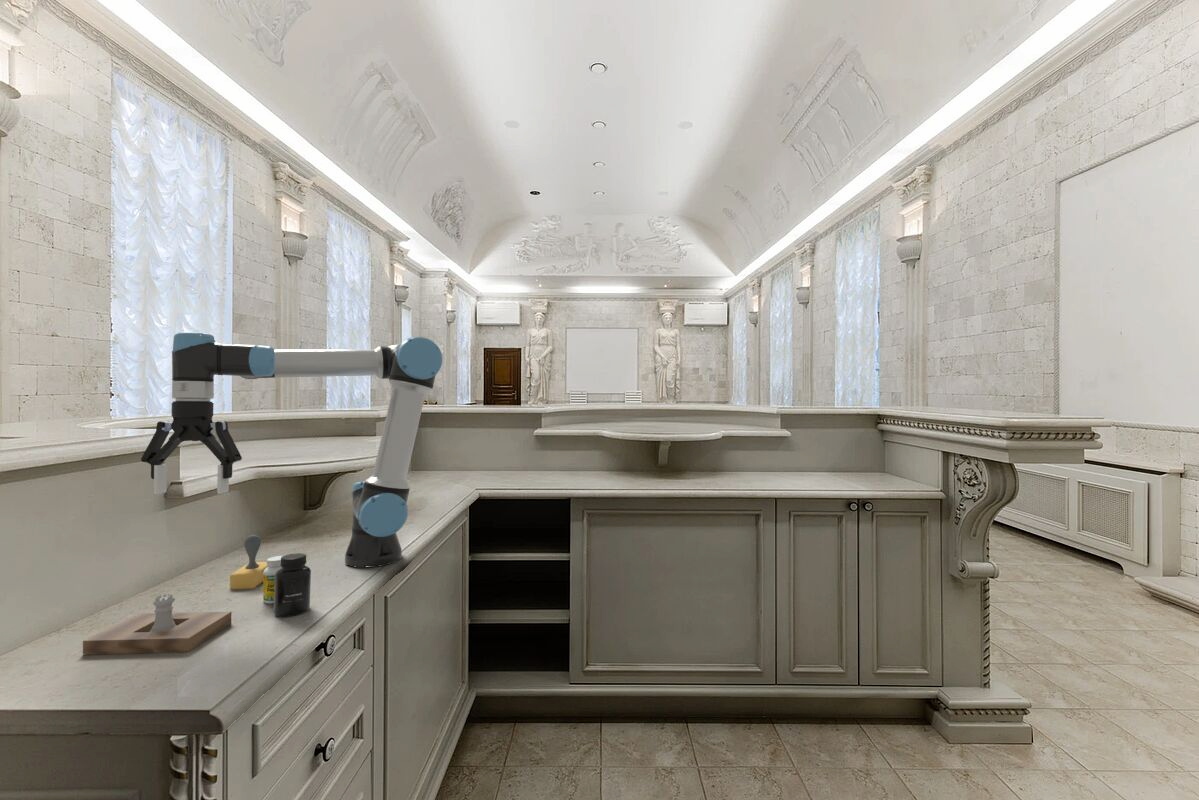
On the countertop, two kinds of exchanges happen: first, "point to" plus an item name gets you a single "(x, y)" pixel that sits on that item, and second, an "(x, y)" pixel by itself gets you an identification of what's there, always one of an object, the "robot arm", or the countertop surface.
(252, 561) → the rubber stamp
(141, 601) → the countertop surface
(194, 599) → the countertop surface
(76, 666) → the countertop surface
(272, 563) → the supplement bottle
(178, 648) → the walnut socket board
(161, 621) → the rook chess piece
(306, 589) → the supplement bottle
